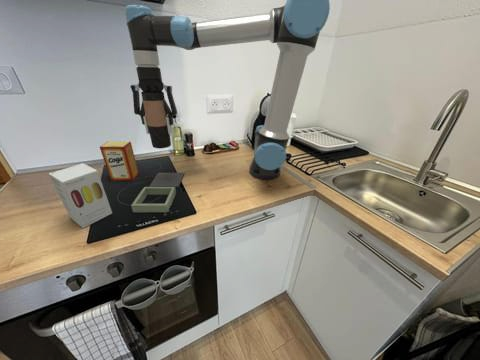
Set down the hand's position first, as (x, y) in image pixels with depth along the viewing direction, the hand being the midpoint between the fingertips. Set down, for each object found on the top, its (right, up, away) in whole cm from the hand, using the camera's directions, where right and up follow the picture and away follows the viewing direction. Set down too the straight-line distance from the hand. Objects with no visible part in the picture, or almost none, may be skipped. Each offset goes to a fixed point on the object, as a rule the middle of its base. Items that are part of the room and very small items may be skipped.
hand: (159, 132), depth 78 cm
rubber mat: (-1, -19, +11) cm, 22 cm away
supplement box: (-19, -31, -11) cm, 38 cm away
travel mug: (0, -5, +3) cm, 5 cm away
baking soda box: (-21, -17, +12) cm, 30 cm away
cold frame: (0, -27, -3) cm, 27 cm away
